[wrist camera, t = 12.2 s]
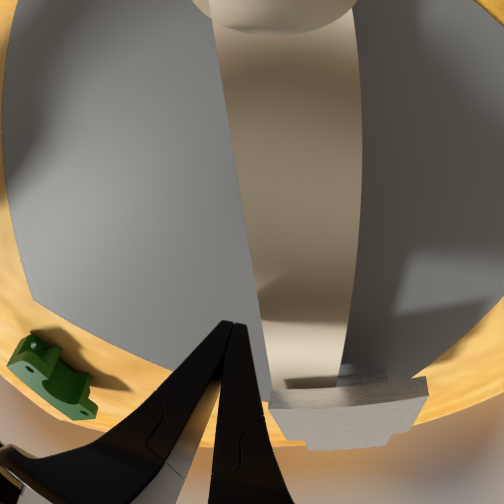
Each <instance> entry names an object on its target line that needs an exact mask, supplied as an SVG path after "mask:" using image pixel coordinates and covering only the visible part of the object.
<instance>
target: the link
mask: <svg viewBox="0 0 504 504" xmlns="http://www.w3.org/2000/svg"><path fill="white" fill-rule="evenodd" d="M192 1H193V2H194V4H195V5H196V6H197V7H198V8H199V9H200V10H201V11H202V12H203V13H204V14H205V15H207V16H208V17H209V18H211V19H212V24H213V30H214V36H215V42H216V49H217V55H218V61H219V67H220V73H221V79H222V85H223V92H224V98H225V104H226V110H227V116H228V122H229V128H230V134H231V141H232V147H233V153H234V159H235V165H236V171H237V177H238V183H239V189H240V195H241V201H242V207H243V213H244V219H245V225H246V232H247V238H248V244H249V250H250V256H251V262H252V268H253V274H254V280H255V286H256V292H257V298H258V304H259V310H260V316H261V322H262V327H263V333H264V339H265V345H266V351H267V357H268V363H269V369H270V375H271V381H272V387H273V390H286V389H318V388H335V387H336V382H337V378H338V373H339V368H340V363H341V358H342V353H343V348H344V343H345V337H346V331H347V325H348V319H349V312H350V306H351V299H352V291H353V284H354V275H355V267H356V257H357V247H358V235H359V222H360V206H361V185H362V110H361V89H360V74H359V62H358V52H357V42H356V34H355V26H354V19H353V12H352V7H353V6H354V5H355V3H356V2H357V0H192Z"/></svg>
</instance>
